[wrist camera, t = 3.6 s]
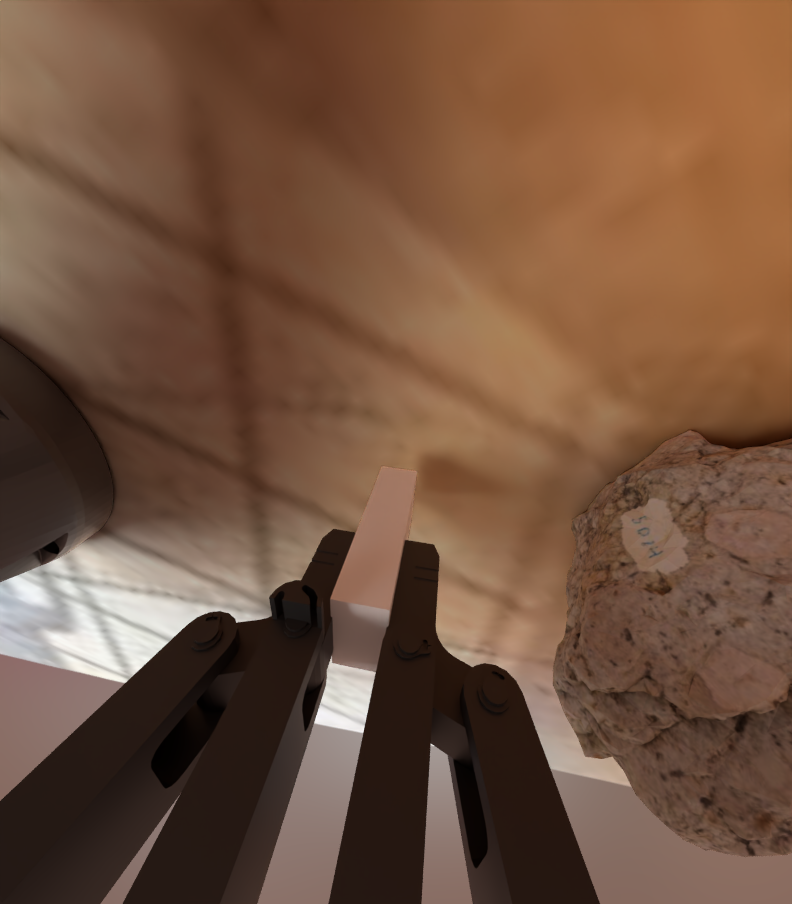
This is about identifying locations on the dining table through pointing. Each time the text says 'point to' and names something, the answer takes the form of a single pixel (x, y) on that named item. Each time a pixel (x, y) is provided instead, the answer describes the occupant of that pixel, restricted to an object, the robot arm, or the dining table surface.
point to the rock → (689, 640)
